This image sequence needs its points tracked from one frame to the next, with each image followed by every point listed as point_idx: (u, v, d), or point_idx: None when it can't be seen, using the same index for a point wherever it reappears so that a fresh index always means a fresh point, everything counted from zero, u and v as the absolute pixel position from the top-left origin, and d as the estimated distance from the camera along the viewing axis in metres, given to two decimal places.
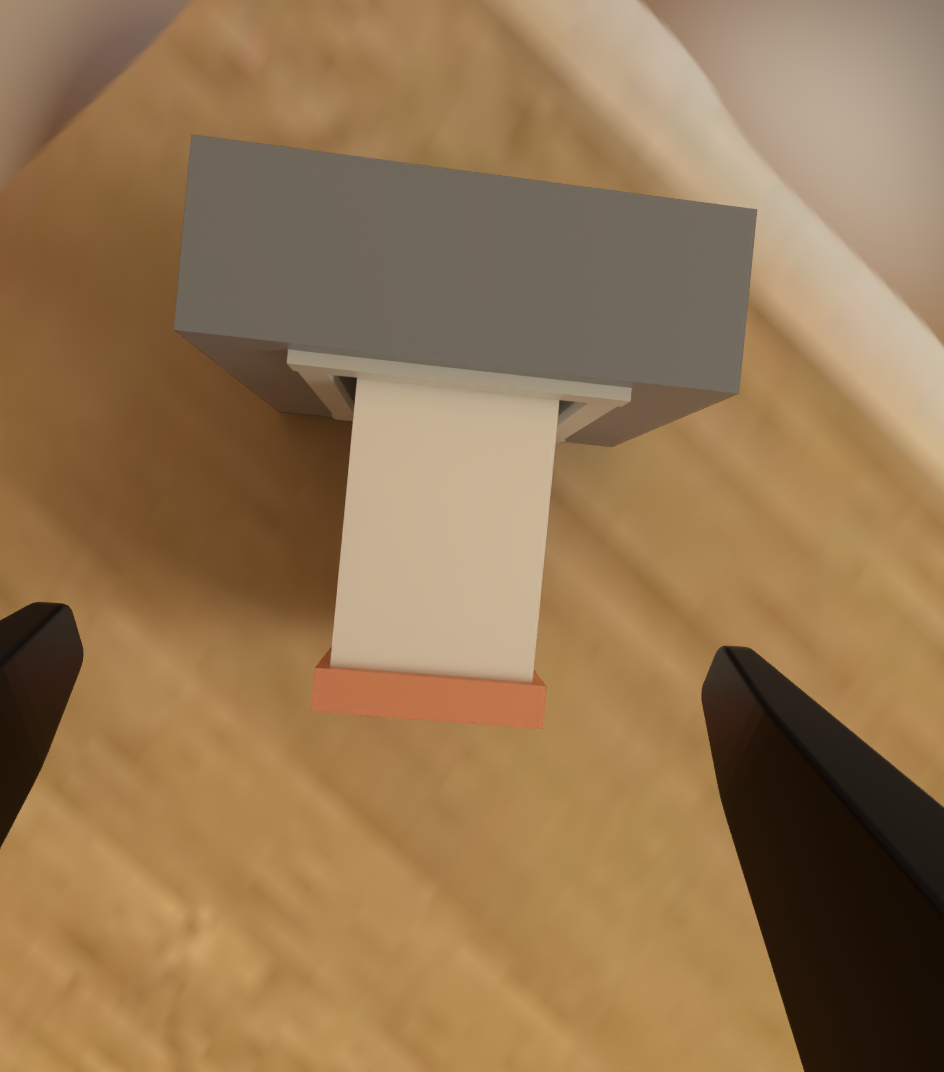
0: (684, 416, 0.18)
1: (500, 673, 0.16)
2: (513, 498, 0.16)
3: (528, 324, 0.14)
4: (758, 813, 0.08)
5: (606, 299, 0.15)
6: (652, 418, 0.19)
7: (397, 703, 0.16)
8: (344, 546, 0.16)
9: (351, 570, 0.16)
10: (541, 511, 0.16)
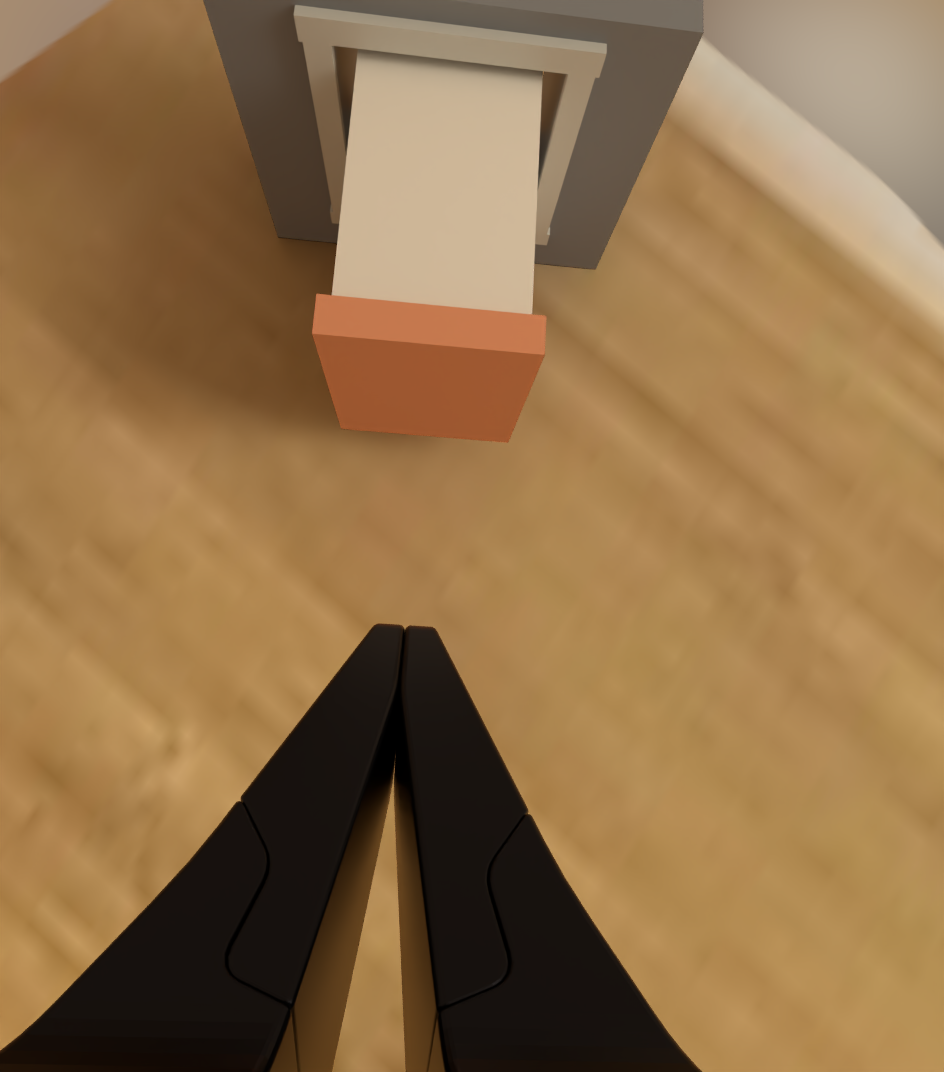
0: None
1: (500, 311, 0.17)
2: (504, 160, 0.17)
3: None
4: (398, 796, 0.08)
5: None
6: (629, 149, 0.20)
7: (398, 327, 0.16)
8: (345, 196, 0.17)
9: (351, 217, 0.17)
10: (531, 171, 0.17)
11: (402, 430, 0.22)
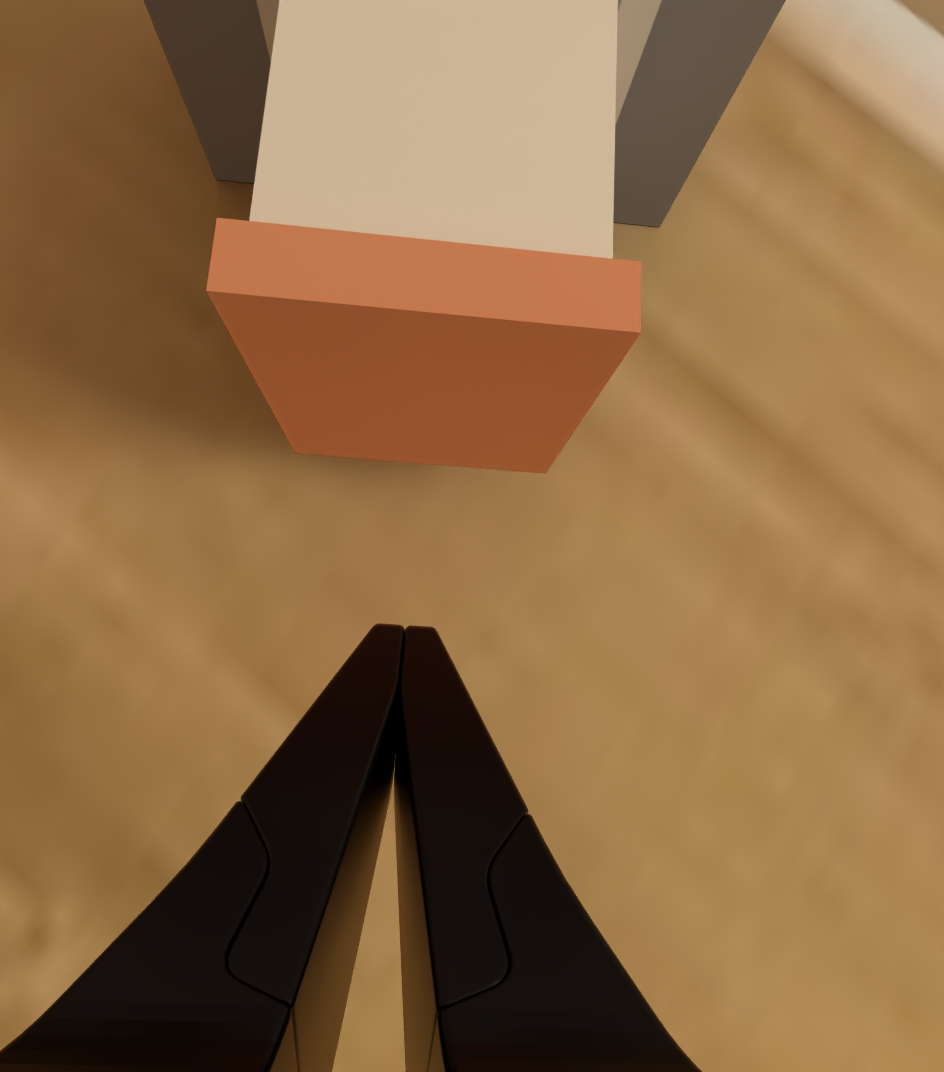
0: None
1: (555, 255, 0.09)
2: None
3: None
4: (398, 797, 0.08)
5: None
6: (742, 18, 0.13)
7: (370, 281, 0.08)
8: (277, 51, 0.09)
9: (289, 87, 0.09)
10: (605, 16, 0.10)
11: (388, 456, 0.14)
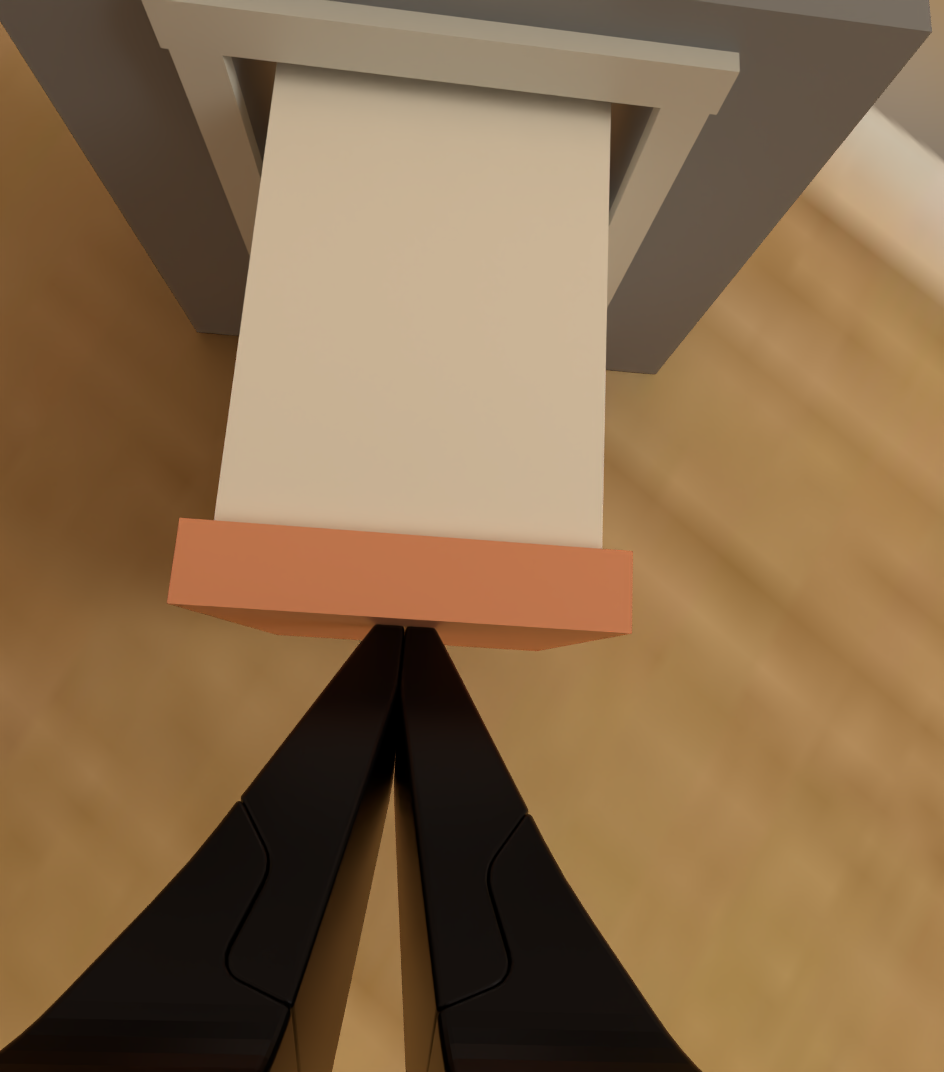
0: None
1: (541, 536, 0.09)
2: (546, 240, 0.09)
3: None
4: (398, 796, 0.08)
5: None
6: (740, 225, 0.12)
7: (342, 585, 0.08)
8: (248, 313, 0.09)
9: (258, 353, 0.09)
10: (595, 260, 0.09)
11: None
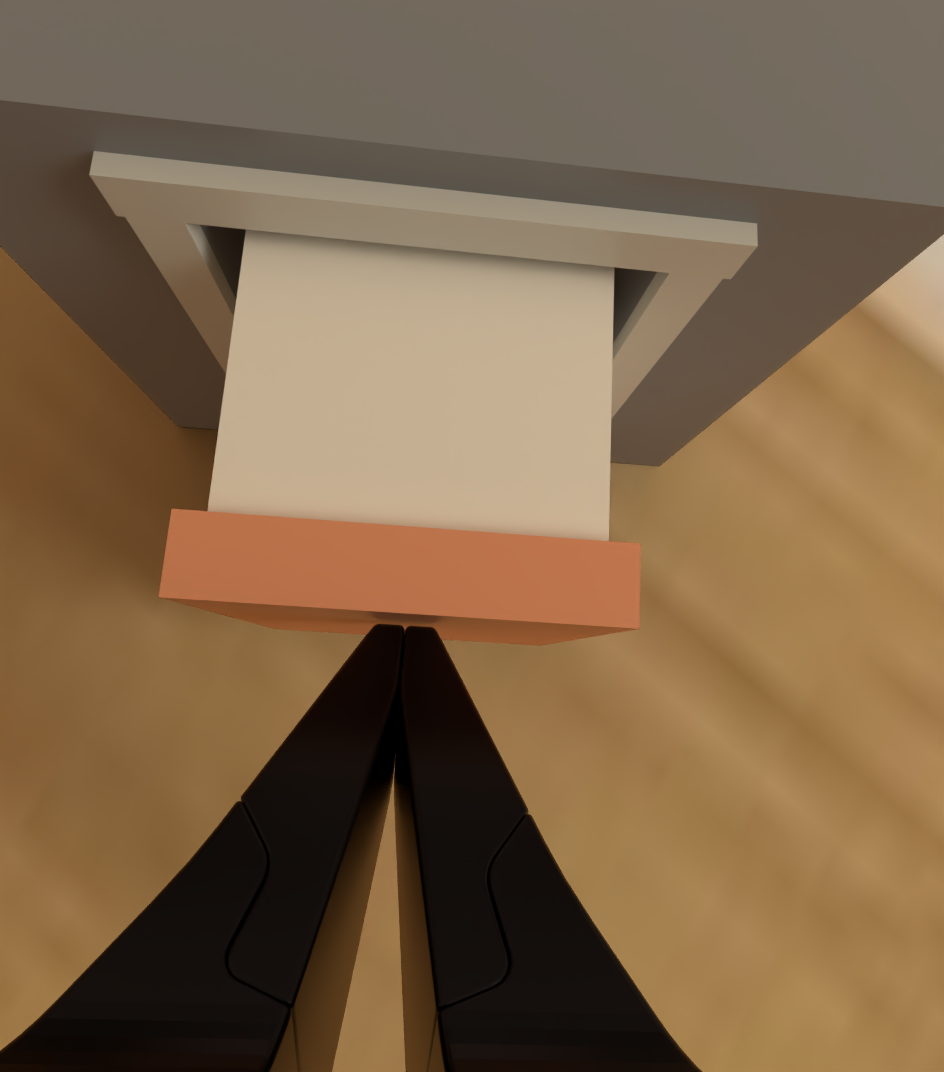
0: None
1: (547, 528, 0.08)
2: None
3: (560, 86, 0.07)
4: (398, 796, 0.08)
5: (703, 49, 0.08)
6: (752, 358, 0.11)
7: (340, 579, 0.08)
8: (242, 296, 0.09)
9: (254, 338, 0.08)
10: None
11: None
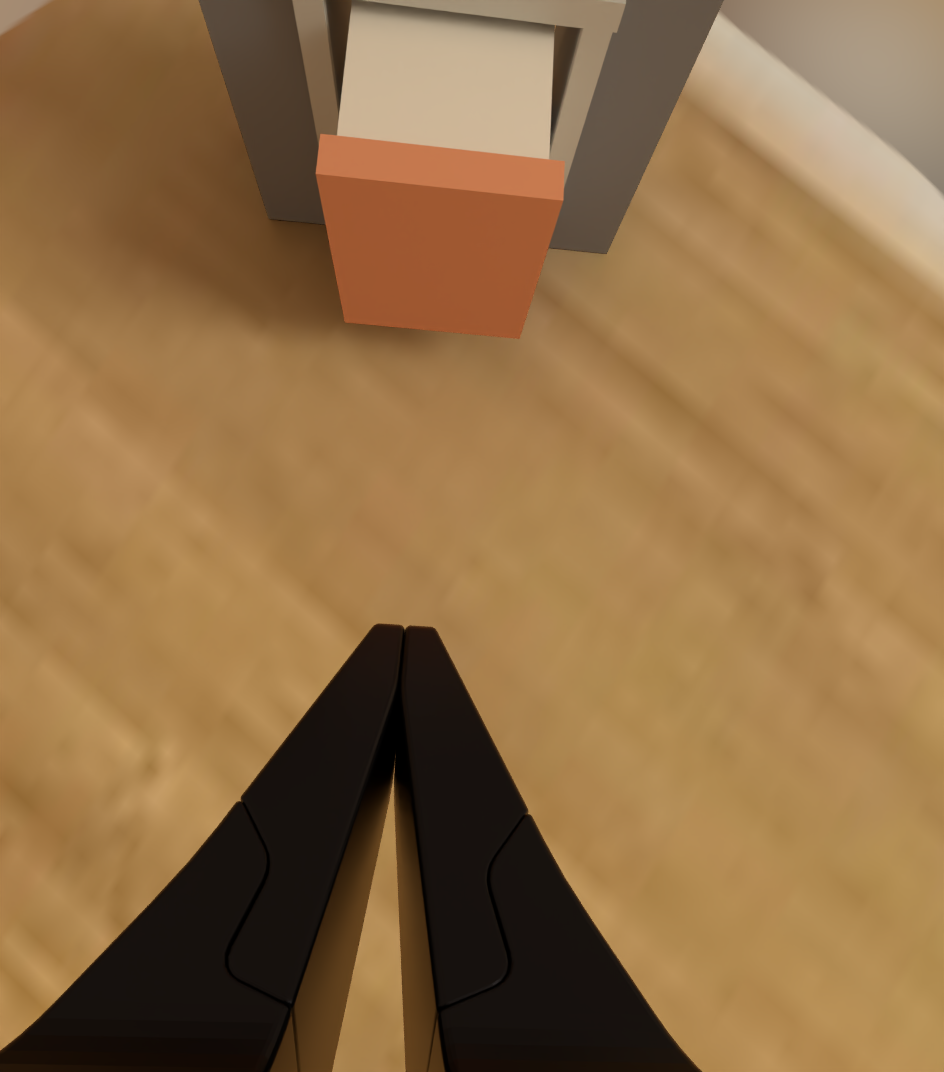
0: (678, 97, 0.18)
1: (515, 159, 0.16)
2: None
3: None
4: (398, 796, 0.08)
5: None
6: (646, 117, 0.19)
7: (407, 169, 0.15)
8: (350, 39, 0.16)
9: (357, 60, 0.16)
10: None
11: (409, 324, 0.21)
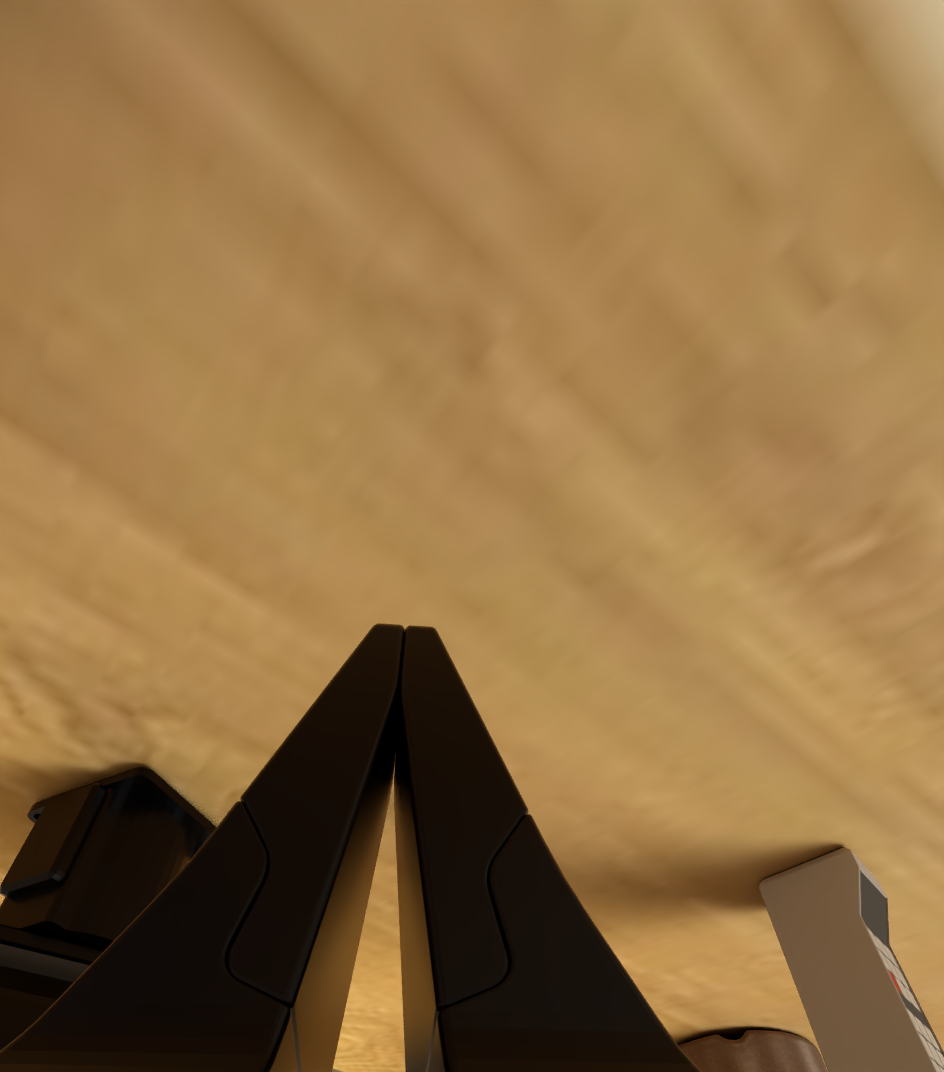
0: None
1: None
2: None
3: None
4: (398, 796, 0.08)
5: None
6: None
7: None
8: None
9: None
10: None
11: None
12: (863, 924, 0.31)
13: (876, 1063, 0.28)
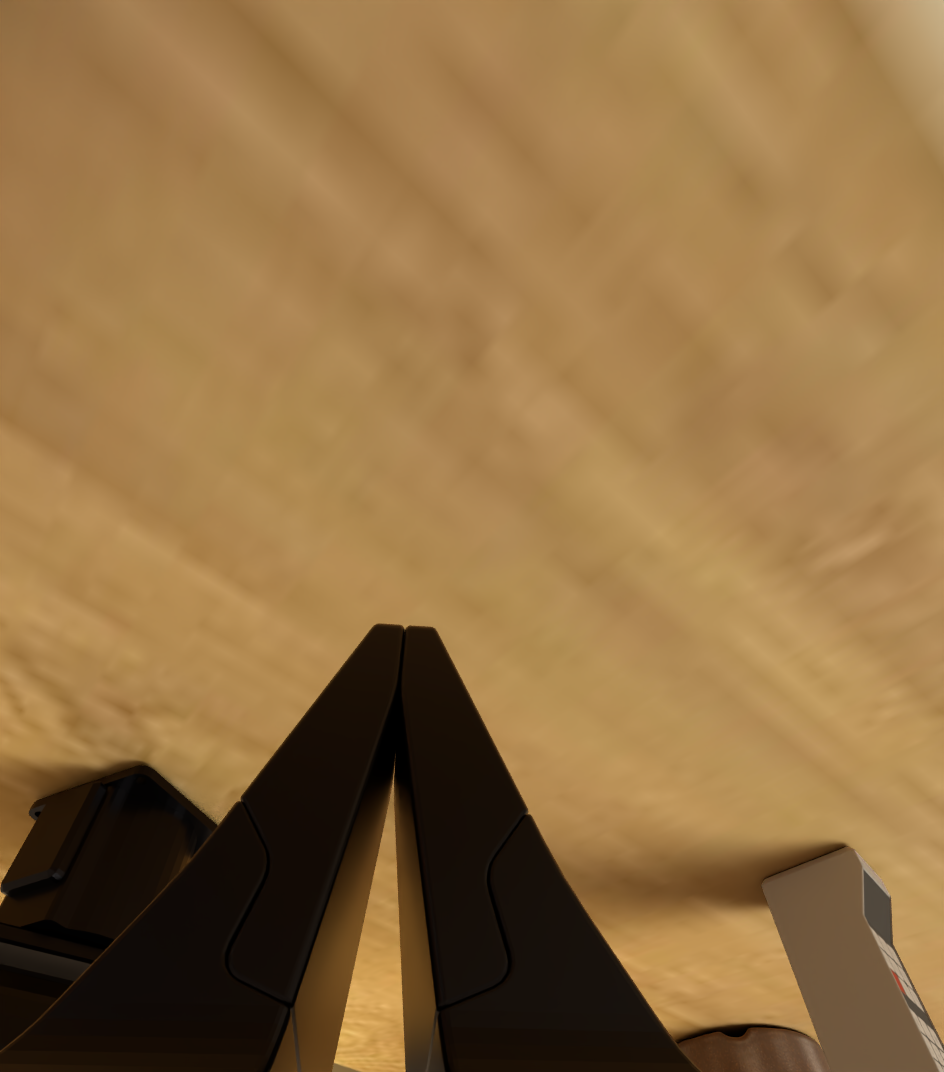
0: None
1: None
2: None
3: None
4: (398, 796, 0.08)
5: None
6: None
7: None
8: None
9: None
10: None
11: None
12: (866, 924, 0.31)
13: (879, 1064, 0.28)
